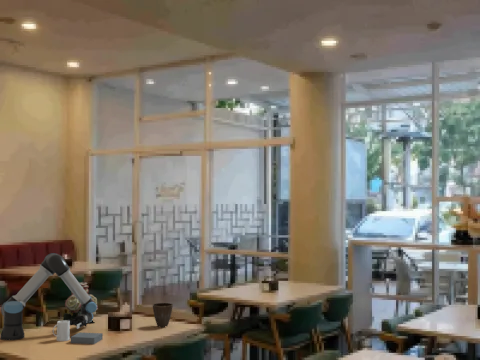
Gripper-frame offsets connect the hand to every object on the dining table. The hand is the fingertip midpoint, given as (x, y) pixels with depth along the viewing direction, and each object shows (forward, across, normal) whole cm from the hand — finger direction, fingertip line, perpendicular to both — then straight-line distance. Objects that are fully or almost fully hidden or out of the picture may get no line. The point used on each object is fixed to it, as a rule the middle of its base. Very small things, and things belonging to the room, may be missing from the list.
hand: (67, 326), depth 394 cm
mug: (+10, 0, -7) cm, 12 cm away
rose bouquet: (-53, +14, -8) cm, 56 cm away
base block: (+10, -18, -7) cm, 22 cm away
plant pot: (-47, -53, -8) cm, 71 cm away
